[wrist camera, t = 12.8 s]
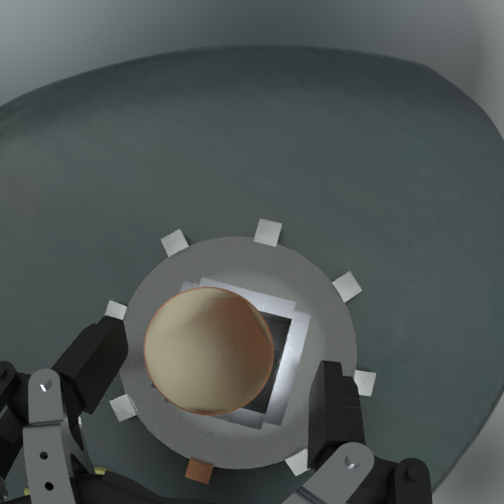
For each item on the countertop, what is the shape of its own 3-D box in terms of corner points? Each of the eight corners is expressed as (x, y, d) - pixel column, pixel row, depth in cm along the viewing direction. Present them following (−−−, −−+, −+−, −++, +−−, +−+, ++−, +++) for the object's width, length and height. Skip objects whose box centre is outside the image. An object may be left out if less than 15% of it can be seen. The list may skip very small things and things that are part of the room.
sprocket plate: (86, 423, 17) (57, 431, 14) (157, 203, 24) (141, 177, 20) (327, 498, 15) (340, 521, 12) (387, 259, 22) (410, 240, 18)
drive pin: (193, 375, 18) (129, 387, 8) (211, 315, 19) (167, 271, 10) (255, 394, 17) (252, 431, 8) (273, 333, 19) (289, 306, 9)
